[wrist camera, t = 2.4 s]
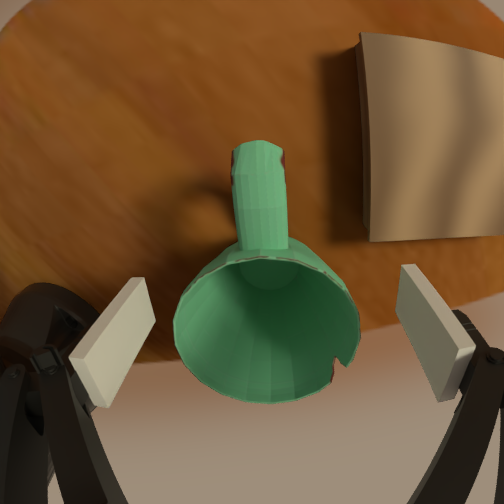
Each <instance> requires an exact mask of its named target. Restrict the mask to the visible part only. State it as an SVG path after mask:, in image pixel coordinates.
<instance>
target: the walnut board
mask: <svg viewBox="0 0 504 504" xmlns="http://www.w3.org/2000/svg"><path fill="white" fill-rule="evenodd" d="M359 39H360V42H359V43H358V44H357V45H355V54H356V63H357V72H358V83H359V95H360V109H361V125H362V149H363V225H364V226H365V227H366V229H367V230H368V241H369V242H381V241H399V240H417V239H436V238H454V237H473V236H492V235H504V59H502V58H498V57H495V56H492V55H488V54H485V53H481V52H478V51H474V50H470V49H466V48H462V47H458V46H453V45H449V44H444V43H439V42H434V41H429V40H423V39H417V38H410V37H403V36H396V35H387V34H378V33H366V32H360V33H359Z"/></svg>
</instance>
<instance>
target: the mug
mask: <svg viewBox="0 0 504 504" xmlns="http://www.w3.org/2000/svg"><path fill="white" fill-rule="evenodd" d="M231 184H232V195H233V205H234V213H235V221H236V228H237V236H238V242H237V243H235V244H233V245H231V246H229V247H228V248H226V249H225V250H224V251H223V252H222V253H221V254H220V255H219V256H218V257H216V258H215V259H214V260H213V261H211V262H210V263H209V264H208V265H206V266H205V267H204V268H203V269H202V270H201V271H200V273H199V274H198V275H197V276H196V277H195V278H194V279H193V281H192V282H191V283H190V284H189V285H188V286H187V287H186V289H185V290H184V292H183V294H182V296H181V298H180V300H179V303H178V306H177V309H176V312H175V315H174V318H173V334H174V344H175V347H176V349H177V351H178V353H179V355H180V357H181V359H182V361H183V363H184V365H185V366H186V367H187V368H188V369H189V370H190V371H191V372H192V374H193V375H194V376H195V377H196V378H197V379H198V380H199V381H200V382H202V383H203V384H205V385H207V386H208V387H210V388H211V389H213V390H215V391H216V392H218V393H220V394H222V395H225V396H228V397H231V398H234V399H237V400H241V401H244V402H251V403H264V404H276V403H283V402H291V401H296V400H299V399H302V398H305V397H307V396H310V395H313V394H315V393H318V392H320V391H321V390H322V389H324V388H325V387H326V386H328V385H329V384H330V383H331V382H332V378H333V375H334V363H335V358H336V357H337V358H338V359H339V361H340V363H341V364H343V365H344V366H345V367H346V368H347V367H348V366H349V365H350V363H351V362H352V361H353V359H354V356H355V353H356V351H357V348H358V345H359V342H360V338H361V333H360V318H359V312H358V310H357V307H356V305H355V303H354V301H353V299H352V297H351V295H350V293H349V291H348V290H347V288H346V286H345V284H344V282H343V281H342V280H341V279H340V278H339V277H338V276H337V275H336V274H335V273H334V272H333V271H332V270H331V269H330V268H329V267H328V266H327V265H326V264H325V263H324V262H323V261H322V260H321V259H320V258H319V257H318V256H317V255H316V254H315V253H314V252H312V251H311V250H310V249H309V248H308V247H307V246H306V245H304V244H303V243H301V242H299V241H297V240H295V239H293V238H291V237H288V223H287V200H286V181H285V157H284V151H283V149H281V148H280V147H278V146H276V145H274V144H272V143H269V142H267V141H263V140H255V141H251V142H247V143H243V144H240V145H239V146H238V147H236V148H235V149H234V150H233V151H232V159H231Z"/></svg>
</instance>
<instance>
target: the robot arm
mask: <svg viewBox="0 0 504 504" xmlns="http://www.w3.org/2000/svg"><path fill="white" fill-rule="evenodd" d="M395 312H396V314H397V316H398V318H399V320H400V322H401V324H402V326H403V328H404V330H405V332H406V334H407V336H408V338H409V340H410V342H411V344H412V346H413V348H414V350H415V352H416V354H417V356H418V359H419V361H420V363H421V365H422V367H423V369H424V372H425V374H426V376H427V378H428V380H429V383H430V385H431V387H432V390H433V392H434V394H435V396H436V399H437V401H438V402H443V401H447V400H451V399H454V398H455V396H456V394H457V392H458V389H460V391H461V393H462V398H461V400H460V402H459V404H458V406H457V408H456V410H455V412H454V413H455V414H454V416H453V418H452V421H451V423H450V425H449V427H448V430H447V432H446V434H445V436H444V438H443V440H442V442H441V444H440V446H439V448H438V450H437V452H436V454H435V456H434V458H433V460H432V462H431V464H430V466H429V467H428V469H427V471H426V473H425V475H424V476H423V478H422V480H421V482H420V483H419V485H418V486H417V488H416V490H415V491H414V493H413V495H412V496H411V498H410V500H409V501H408V503H407V504H465V502H466V500H467V498H468V496H469V493H470V491H471V489H472V487H473V484H474V482H475V479H476V477H477V475H478V472H479V469H480V467H481V464H482V462H483V459H484V456H485V454H486V451H487V448H488V445H489V442H490V439H491V435H492V432H493V429H494V426H495V422H496V419H497V415H498V412H499V408H500V411H501V413H500V414H501V427H500V453H499V466H498V476H497V485H496V493H495V500H494V504H504V351H502V350H500V349H498V348H493V347H489V345H488V344H487V343H486V341H485V340H484V338H483V337H482V336H481V334H480V333H479V331H478V330H477V329H476V327H475V326H474V325H473V324H472V322H471V321H470V319H469V318H468V317H467V315H465V314H464V313H462V312H461V311H459V310H450V308H449V307H448V306H447V304H446V303H445V302H444V300H443V299H442V298H441V296H440V295H439V294H438V292H437V291H436V290H435V289H434V287H433V286H432V285H431V283H430V282H429V281H428V280H427V278H426V277H425V276H424V275H423V273H422V272H421V271H420V270H419V268H418V267H417V266H416V265H415V264H409V265H401V273H400V281H399V289H398V296H397V303H396V309H395ZM155 321H156V320H155V316H154V313H153V309H152V305H151V302H150V298H149V294H148V290H147V286H146V283H145V279H144V277H132V278H131V279H130V280H129V281H128V282H127V284H126V285H125V286H124V287H123V288H122V290H121V291H120V292H119V293H118V294H117V296H116V297H115V298H114V299H113V300H112V302H111V303H110V304H109V305H108V307H107V308H106V309H105V310H104V312H103V313H102V314H101V315H100V314H99V313H98V312H97V311H96V310H95V309H94V308H93V307H91V306H90V305H89V304H88V303H87V302H86V301H84V300H83V299H82V298H80V297H79V296H77V295H76V294H74V293H72V292H71V291H69V290H67V289H65V288H63V287H60V286H57V285H54V284H50V283H35V284H32V285H29V286H28V287H26V288H25V289H24V290H23V291H21V292H20V293H19V294H18V295H17V296H16V297H15V298H14V299H13V300H12V302H11V303H10V305H9V307H8V310H7V312H6V314H5V316H4V318H3V320H2V322H1V324H0V504H48V496H47V495H48V490H47V489H48V486H49V483H50V481H51V479H52V477H53V475H54V473H56V477H57V481H58V484H59V488H60V491H61V495H62V498H63V501H64V504H128V502H127V500H126V498H125V496H124V494H123V492H122V490H121V488H120V486H119V483H118V481H117V479H116V477H115V475H114V473H113V470H112V468H111V466H110V464H109V461H108V459H107V456H106V454H105V451H104V449H103V447H102V444H101V441H100V439H99V436H98V433H97V431H96V428H95V426H94V422H93V419H92V417H91V412H92V411H93V410H94V409H95V408H96V407H97V406H101V407H105V408H109V407H110V405H111V403H112V401H113V399H114V397H115V395H116V393H117V392H118V390H119V388H120V386H121V384H122V382H123V380H124V378H125V376H126V374H127V372H128V371H129V369H130V367H131V365H132V363H133V361H134V360H135V358H136V356H137V354H138V352H139V350H140V348H141V347H142V345H143V343H144V341H145V339H146V338H147V336H148V334H149V332H150V330H151V328H152V327H153V325H154V323H155Z"/></svg>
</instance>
